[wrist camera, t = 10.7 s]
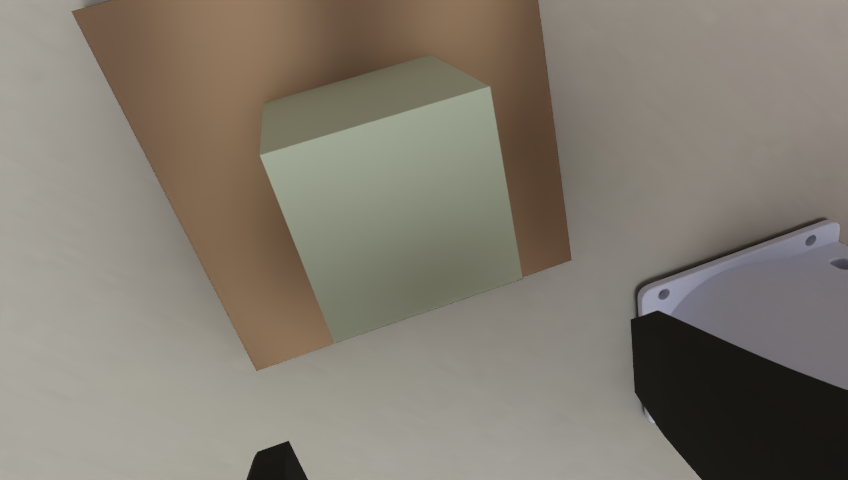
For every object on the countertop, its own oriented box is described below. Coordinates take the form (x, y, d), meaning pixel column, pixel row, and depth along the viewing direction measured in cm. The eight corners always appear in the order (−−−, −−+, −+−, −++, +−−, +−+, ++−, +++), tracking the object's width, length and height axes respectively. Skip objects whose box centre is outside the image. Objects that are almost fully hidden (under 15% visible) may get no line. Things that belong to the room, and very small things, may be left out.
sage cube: (430, 54, 16) (489, 86, 12) (463, 206, 18) (522, 278, 14) (263, 103, 16) (260, 155, 11) (318, 252, 18) (334, 343, 14)
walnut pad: (509, -108, 16) (523, -113, 15) (559, 248, 21) (571, 259, 21) (83, 8, 14) (71, 11, 14) (257, 353, 20) (256, 370, 19)
